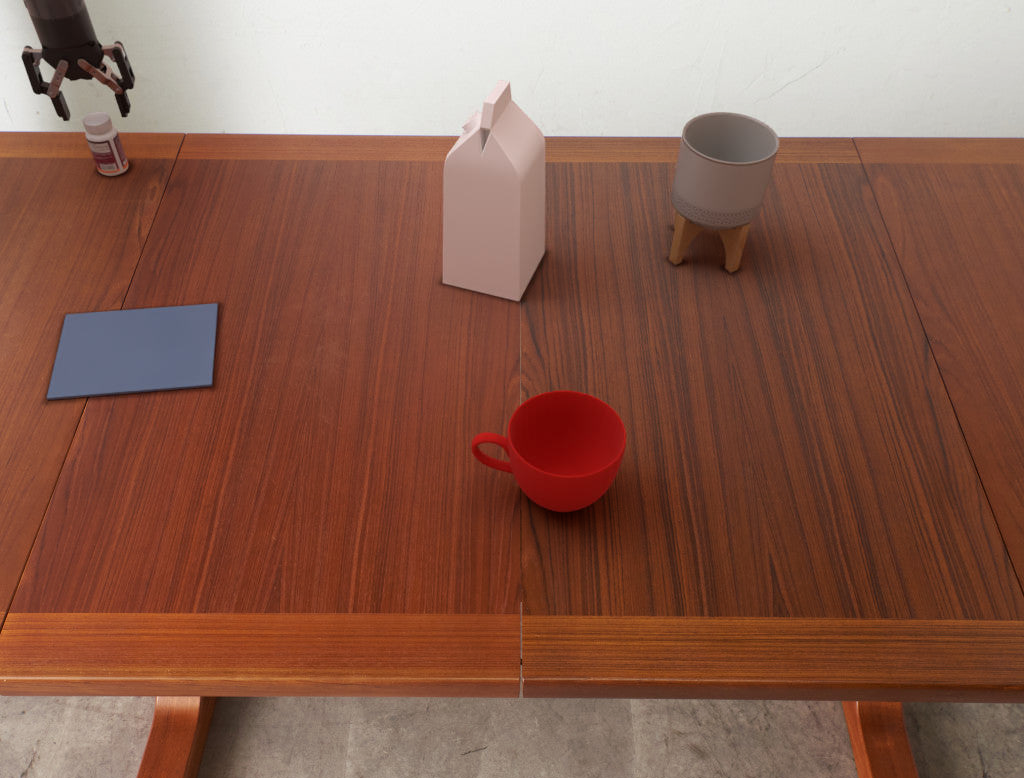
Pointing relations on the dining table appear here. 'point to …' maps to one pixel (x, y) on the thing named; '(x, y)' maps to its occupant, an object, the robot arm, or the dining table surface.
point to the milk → (494, 200)
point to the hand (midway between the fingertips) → (96, 116)
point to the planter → (721, 180)
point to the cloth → (135, 351)
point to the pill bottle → (105, 144)
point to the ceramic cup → (560, 449)
